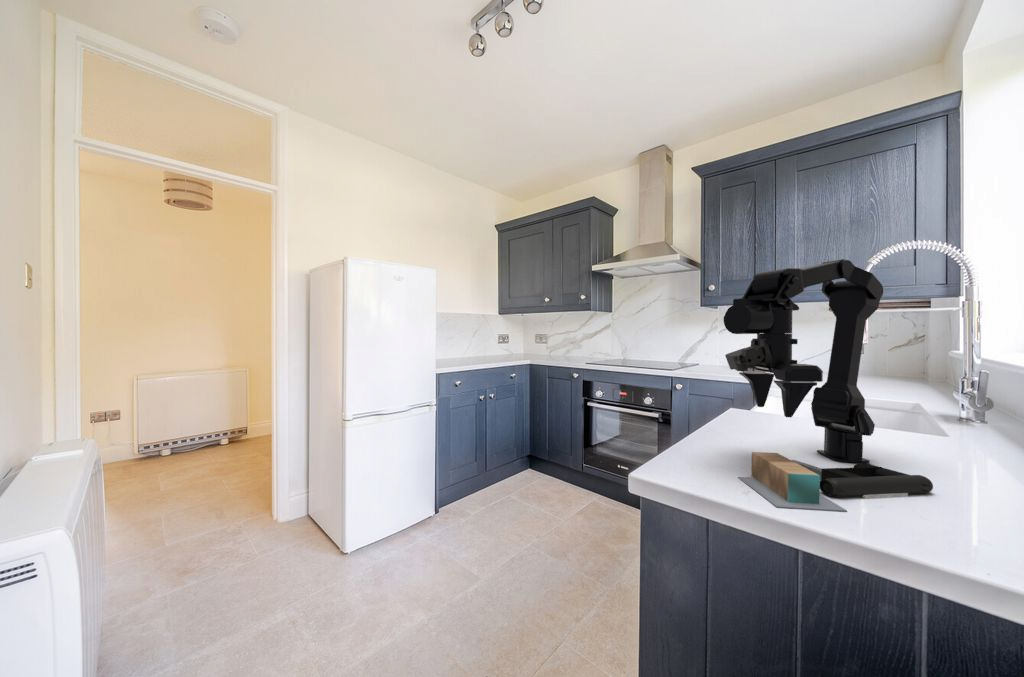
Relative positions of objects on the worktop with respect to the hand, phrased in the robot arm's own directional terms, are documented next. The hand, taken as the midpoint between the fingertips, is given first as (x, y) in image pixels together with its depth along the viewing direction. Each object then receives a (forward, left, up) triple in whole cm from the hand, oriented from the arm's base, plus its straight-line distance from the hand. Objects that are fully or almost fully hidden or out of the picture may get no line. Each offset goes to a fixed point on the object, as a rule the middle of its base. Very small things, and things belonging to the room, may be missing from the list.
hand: (773, 411), depth 74 cm
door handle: (+5, +10, -12) cm, 16 cm away
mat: (+12, -4, -11) cm, 17 cm away
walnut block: (+5, -4, -9) cm, 11 cm away
